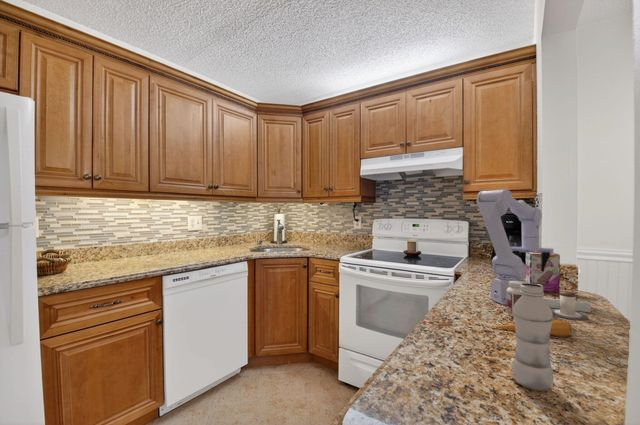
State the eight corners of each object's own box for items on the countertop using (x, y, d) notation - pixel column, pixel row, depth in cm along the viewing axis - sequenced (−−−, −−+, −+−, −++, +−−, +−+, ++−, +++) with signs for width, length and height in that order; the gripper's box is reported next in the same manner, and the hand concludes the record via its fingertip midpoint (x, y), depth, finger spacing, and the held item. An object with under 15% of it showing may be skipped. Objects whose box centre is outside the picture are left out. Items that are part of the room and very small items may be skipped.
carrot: (568, 337, 81) (564, 320, 83) (575, 337, 78) (570, 319, 79) (488, 335, 88) (485, 319, 90) (491, 335, 84) (488, 319, 86)
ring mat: (567, 320, 91) (567, 319, 91) (541, 310, 101) (541, 309, 101) (596, 319, 92) (596, 318, 92) (567, 309, 102) (567, 307, 102)
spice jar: (567, 315, 95) (567, 294, 95) (556, 311, 99) (556, 291, 99) (579, 315, 95) (578, 293, 95) (567, 311, 99) (567, 290, 99)
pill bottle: (532, 316, 96) (532, 282, 96) (524, 319, 93) (523, 285, 93) (511, 310, 101) (511, 279, 101) (503, 314, 98) (502, 281, 98)
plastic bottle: (504, 377, 61) (503, 281, 61) (535, 375, 61) (534, 280, 61) (529, 397, 54) (528, 290, 54) (563, 394, 55) (562, 288, 55)
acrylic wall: (590, 312, 99) (590, 303, 99) (539, 306, 106) (538, 297, 106) (589, 311, 99) (589, 302, 99) (538, 305, 106) (538, 297, 106)
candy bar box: (530, 291, 125) (530, 253, 125) (525, 288, 130) (524, 251, 130) (560, 292, 123) (560, 254, 123) (554, 289, 127) (553, 252, 127)
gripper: (550, 236, 119) (551, 270, 119) (508, 235, 126) (509, 267, 126) (554, 238, 112) (554, 273, 112) (509, 237, 120) (510, 270, 120)
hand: (530, 270), depth 119 cm, fingers open, 7 cm apart
